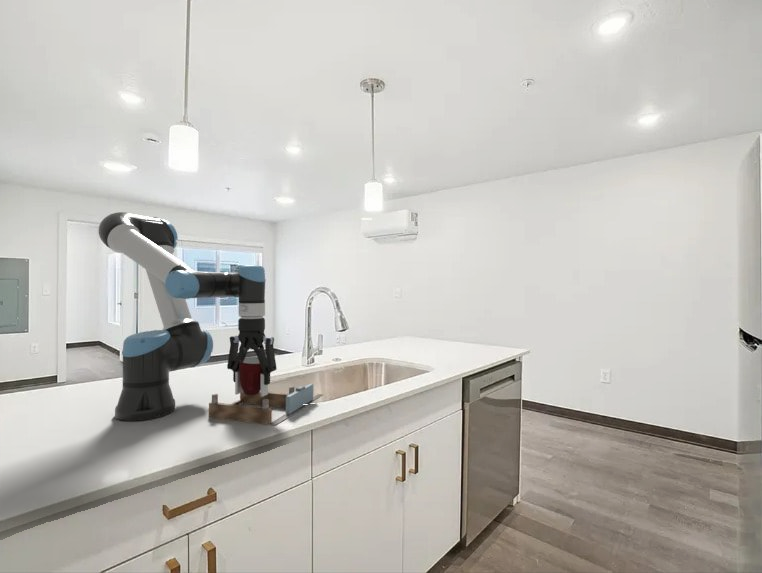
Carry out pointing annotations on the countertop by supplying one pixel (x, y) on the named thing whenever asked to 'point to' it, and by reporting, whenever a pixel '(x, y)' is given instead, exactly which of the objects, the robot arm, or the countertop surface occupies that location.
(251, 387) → the mug
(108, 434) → the countertop surface
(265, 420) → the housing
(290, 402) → the gate
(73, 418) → the countertop surface
